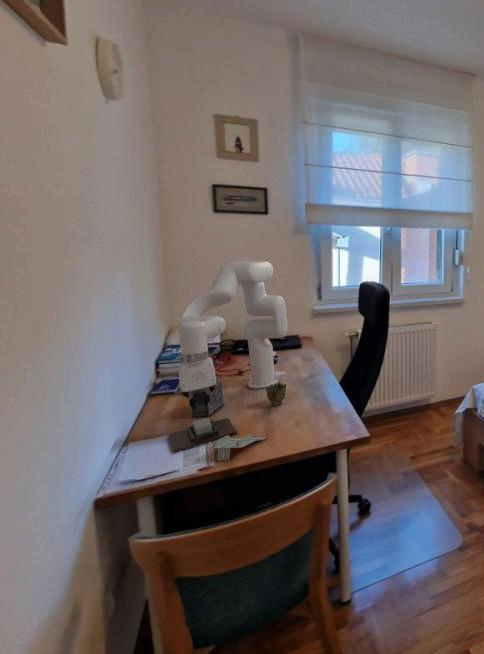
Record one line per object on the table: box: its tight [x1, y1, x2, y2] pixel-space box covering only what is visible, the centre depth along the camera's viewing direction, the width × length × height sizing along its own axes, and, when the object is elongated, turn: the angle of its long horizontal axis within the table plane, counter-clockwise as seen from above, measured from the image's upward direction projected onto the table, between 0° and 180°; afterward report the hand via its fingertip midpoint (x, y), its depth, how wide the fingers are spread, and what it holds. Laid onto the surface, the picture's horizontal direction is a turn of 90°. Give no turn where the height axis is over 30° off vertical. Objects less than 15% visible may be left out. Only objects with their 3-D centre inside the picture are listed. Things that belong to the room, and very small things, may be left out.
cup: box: [265, 382, 287, 407], centre depth 172 cm, size 8×7×8 cm
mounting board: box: [168, 417, 238, 454], centre depth 147 cm, size 18×14×2 cm
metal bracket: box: [205, 434, 267, 462], centre depth 139 cm, size 14×6×15 cm
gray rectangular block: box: [191, 417, 212, 436], centre depth 147 cm, size 4×7×4 cm, turn 46°
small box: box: [191, 381, 225, 418], centre depth 165 cm, size 11×6×10 cm, turn 5°
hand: (200, 405), depth 146 cm, fingers open, 3 cm apart
